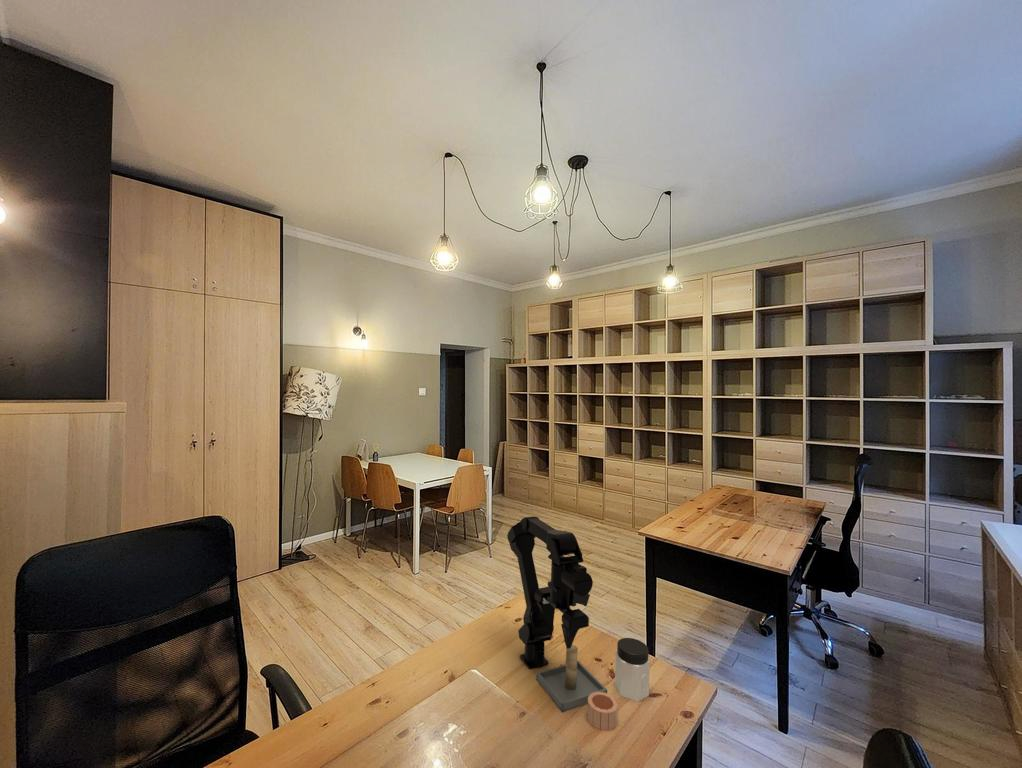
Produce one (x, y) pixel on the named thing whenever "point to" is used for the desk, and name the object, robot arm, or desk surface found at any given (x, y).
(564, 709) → the tray
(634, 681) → the jar
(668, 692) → the desk surface
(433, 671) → the desk surface
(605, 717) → the cup
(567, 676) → the dowel
